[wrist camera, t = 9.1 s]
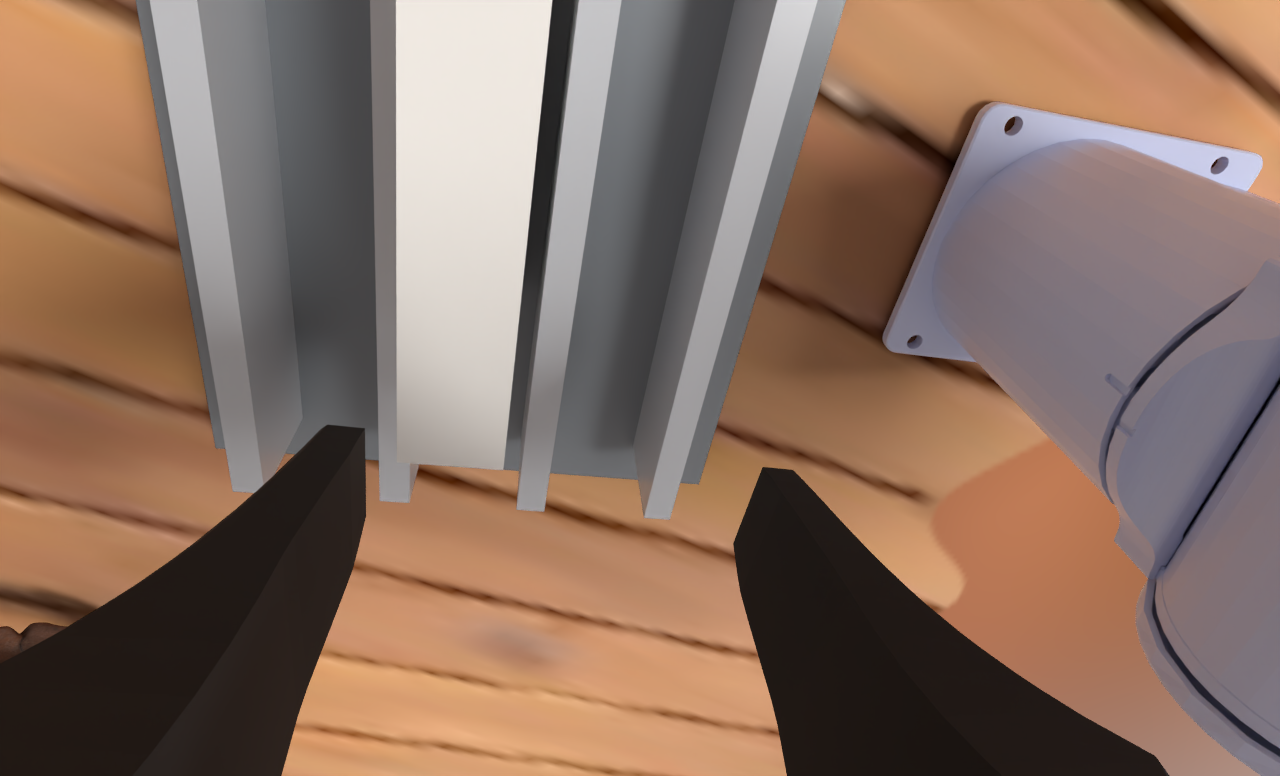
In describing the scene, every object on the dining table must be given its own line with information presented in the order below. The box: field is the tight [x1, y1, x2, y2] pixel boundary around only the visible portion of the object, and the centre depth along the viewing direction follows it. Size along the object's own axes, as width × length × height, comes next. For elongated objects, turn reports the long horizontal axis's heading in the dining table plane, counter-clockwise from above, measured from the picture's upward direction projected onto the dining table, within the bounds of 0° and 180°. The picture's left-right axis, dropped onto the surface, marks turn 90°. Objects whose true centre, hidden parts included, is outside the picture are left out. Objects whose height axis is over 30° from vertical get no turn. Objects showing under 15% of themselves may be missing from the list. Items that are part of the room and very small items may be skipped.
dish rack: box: [136, 0, 846, 520], centre depth 17 cm, size 16×22×4 cm
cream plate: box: [396, 0, 552, 470], centre depth 14 cm, size 2×9×8 cm, turn 169°
